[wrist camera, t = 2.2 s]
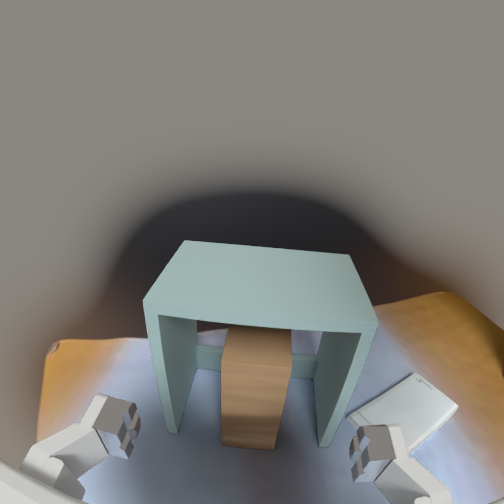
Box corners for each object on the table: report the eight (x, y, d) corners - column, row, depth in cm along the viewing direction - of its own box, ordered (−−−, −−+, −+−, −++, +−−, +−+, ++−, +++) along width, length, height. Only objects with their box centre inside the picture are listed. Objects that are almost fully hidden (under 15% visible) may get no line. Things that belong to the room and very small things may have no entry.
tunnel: (328, 447, 26) (378, 321, 20) (167, 431, 27) (142, 300, 21) (320, 373, 36) (348, 254, 30) (190, 361, 37) (184, 240, 31)
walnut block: (273, 450, 26) (291, 367, 21) (221, 445, 26) (221, 361, 21) (275, 412, 31) (290, 325, 26) (228, 408, 31) (230, 320, 26)
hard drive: (415, 370, 35) (348, 413, 29) (459, 405, 28) (398, 462, 23) (410, 379, 35) (344, 422, 30) (453, 414, 29) (391, 470, 23)
